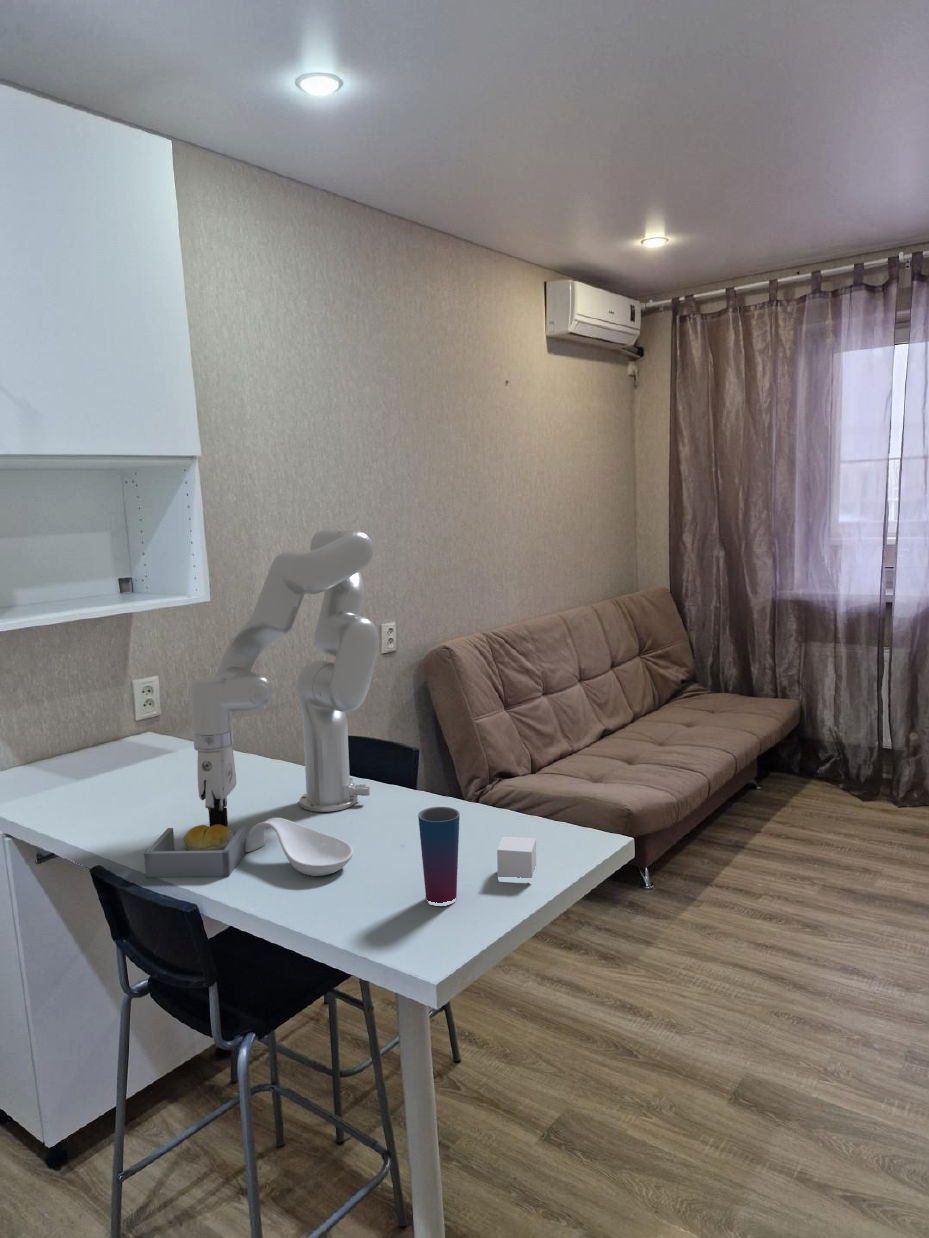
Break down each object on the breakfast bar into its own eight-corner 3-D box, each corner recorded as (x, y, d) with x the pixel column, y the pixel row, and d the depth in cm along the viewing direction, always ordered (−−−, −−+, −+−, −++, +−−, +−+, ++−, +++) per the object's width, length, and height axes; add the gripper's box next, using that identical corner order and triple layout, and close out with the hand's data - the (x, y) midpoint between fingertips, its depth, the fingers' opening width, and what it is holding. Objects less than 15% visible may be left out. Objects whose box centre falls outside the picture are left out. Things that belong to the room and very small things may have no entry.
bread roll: (193, 837, 176) (192, 818, 175) (237, 837, 175) (235, 818, 174) (176, 854, 167) (175, 834, 167) (222, 854, 167) (221, 834, 166)
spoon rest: (366, 865, 161) (365, 828, 160) (322, 890, 151) (320, 850, 150) (274, 839, 174) (272, 804, 173) (228, 860, 164) (226, 824, 163)
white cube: (536, 870, 157) (536, 838, 156) (531, 885, 151) (531, 851, 150) (503, 867, 158) (502, 836, 157) (497, 882, 152) (497, 849, 152)
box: (246, 849, 169) (245, 826, 168) (229, 876, 157) (227, 852, 156) (169, 850, 169) (167, 827, 168) (146, 877, 157) (144, 853, 157)
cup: (461, 890, 150) (459, 805, 147) (462, 908, 143) (460, 821, 141) (421, 891, 149) (418, 807, 147) (420, 910, 143) (417, 822, 140)
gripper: (220, 750, 166) (226, 842, 169) (242, 729, 181) (247, 814, 184) (181, 750, 166) (187, 842, 169) (206, 729, 181) (212, 814, 184)
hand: (218, 827), depth 176 cm, fingers closed
